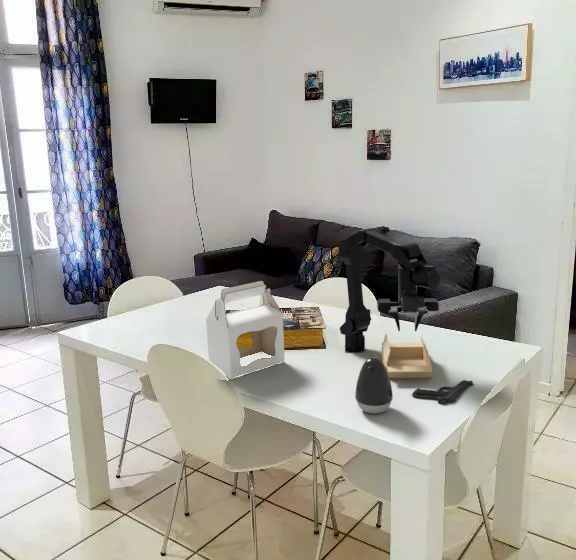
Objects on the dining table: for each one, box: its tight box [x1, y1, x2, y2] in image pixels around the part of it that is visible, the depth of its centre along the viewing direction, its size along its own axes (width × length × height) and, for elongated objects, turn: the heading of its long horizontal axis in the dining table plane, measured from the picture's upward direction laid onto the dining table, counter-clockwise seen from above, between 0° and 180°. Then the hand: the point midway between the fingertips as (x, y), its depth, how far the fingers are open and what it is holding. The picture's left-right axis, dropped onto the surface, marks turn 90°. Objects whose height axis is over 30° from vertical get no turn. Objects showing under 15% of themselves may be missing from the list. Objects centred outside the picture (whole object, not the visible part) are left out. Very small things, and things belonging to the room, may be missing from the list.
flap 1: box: [381, 333, 391, 364], centre depth 198 cm, size 1×17×4 cm, turn 175°
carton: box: [381, 342, 433, 380], centre depth 199 cm, size 14×26×4 cm, turn 176°
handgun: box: [411, 379, 474, 405], centre depth 181 cm, size 18×2×12 cm
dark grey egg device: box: [354, 356, 394, 415], centre depth 168 cm, size 10×10×15 cm
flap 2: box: [419, 333, 432, 365], centre depth 197 cm, size 1×17×4 cm, turn 174°
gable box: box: [205, 280, 286, 380], centre depth 203 cm, size 22×13×28 cm, turn 129°
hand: (407, 330), depth 196 cm, fingers open, 5 cm apart
